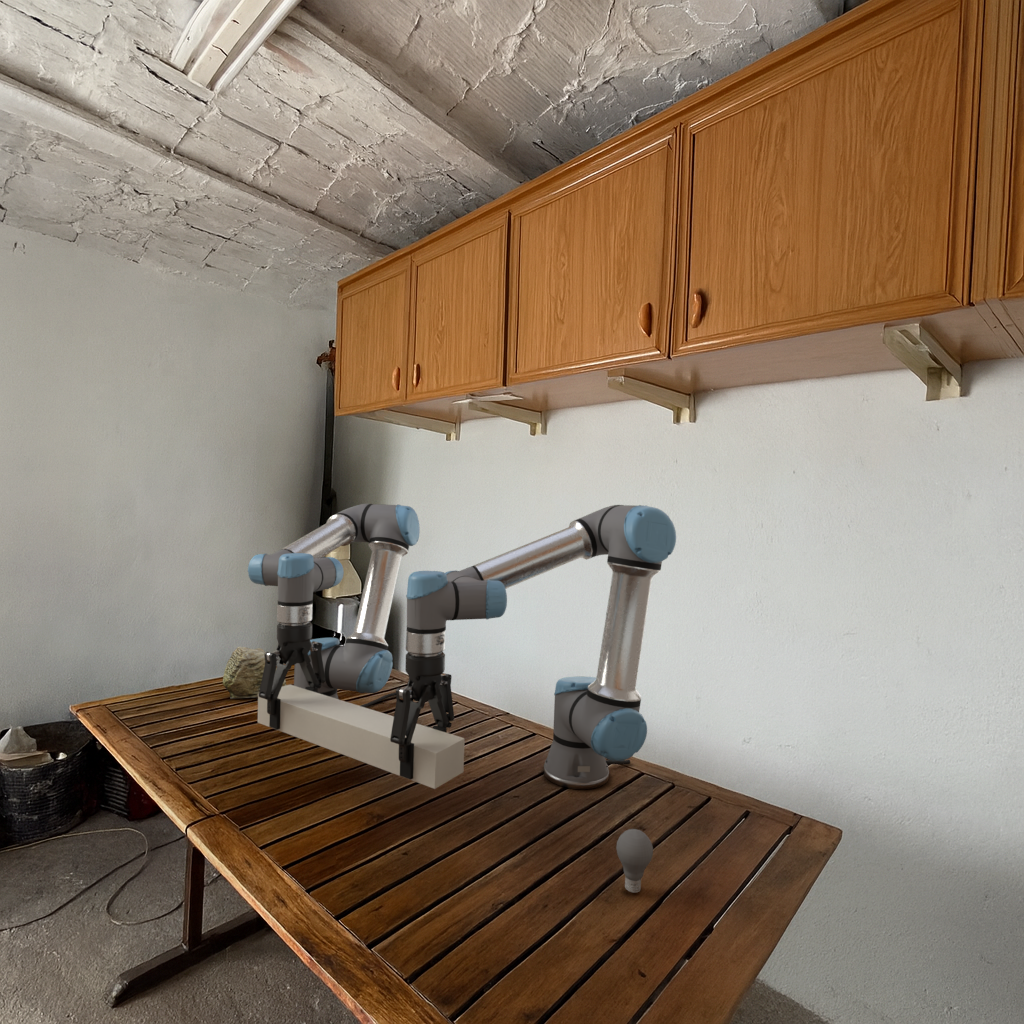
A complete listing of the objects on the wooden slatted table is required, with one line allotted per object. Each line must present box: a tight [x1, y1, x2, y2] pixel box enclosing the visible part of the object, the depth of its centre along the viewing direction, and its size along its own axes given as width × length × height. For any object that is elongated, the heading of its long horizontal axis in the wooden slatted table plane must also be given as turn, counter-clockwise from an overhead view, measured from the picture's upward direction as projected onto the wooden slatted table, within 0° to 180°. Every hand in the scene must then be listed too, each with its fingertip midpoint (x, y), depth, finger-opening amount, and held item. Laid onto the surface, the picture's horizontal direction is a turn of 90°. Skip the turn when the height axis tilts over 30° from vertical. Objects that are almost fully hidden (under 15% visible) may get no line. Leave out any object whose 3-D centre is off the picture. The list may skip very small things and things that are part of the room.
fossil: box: [222, 646, 287, 699], centre depth 198 cm, size 9×18×15 cm, turn 132°
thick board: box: [257, 684, 466, 790], centre depth 133 cm, size 52×9×7 cm, turn 57°
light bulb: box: [615, 828, 654, 894], centre depth 106 cm, size 6×6×10 cm
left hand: (292, 721), depth 143 cm, fingers closed on thick board, 9 cm apart
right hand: (422, 767), depth 122 cm, fingers closed on thick board, 9 cm apart
